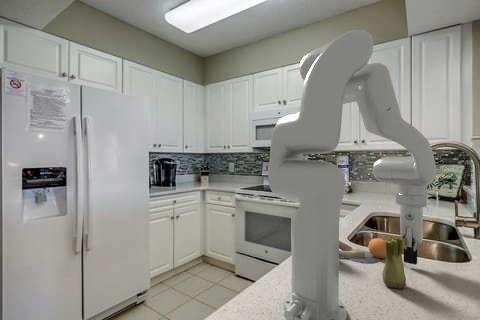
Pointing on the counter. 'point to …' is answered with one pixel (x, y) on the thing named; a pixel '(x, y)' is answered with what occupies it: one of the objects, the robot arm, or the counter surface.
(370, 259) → the light blue plate
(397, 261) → the fennel bulb
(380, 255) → the ball
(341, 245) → the back pin
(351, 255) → the front pin
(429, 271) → the counter surface
